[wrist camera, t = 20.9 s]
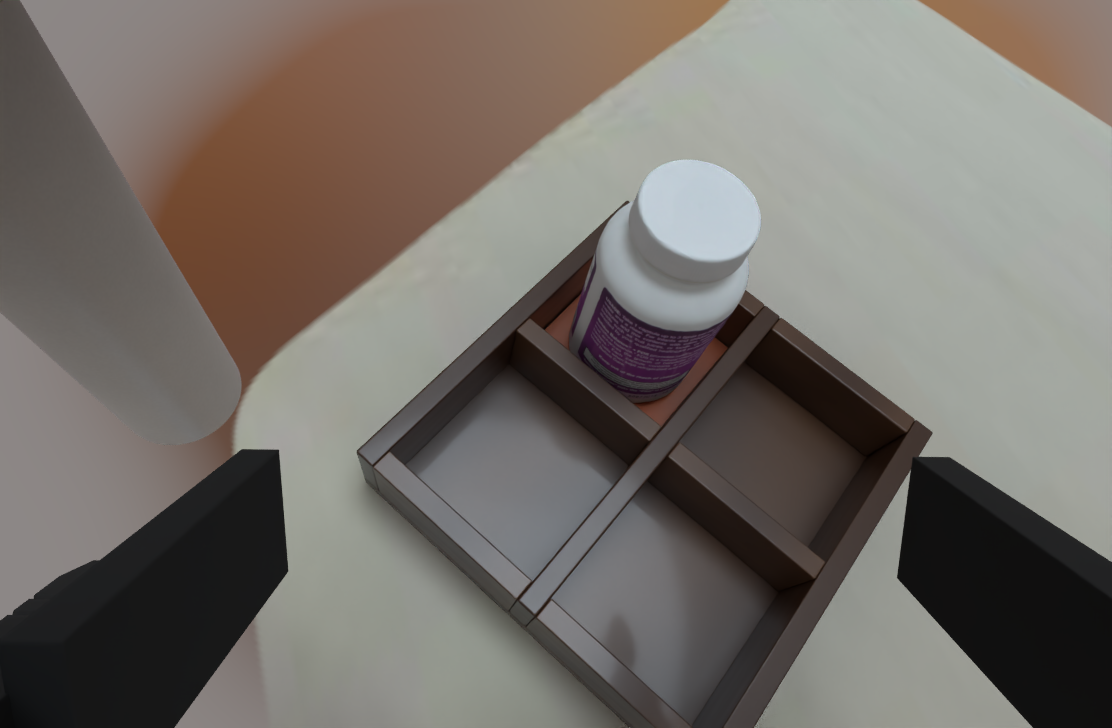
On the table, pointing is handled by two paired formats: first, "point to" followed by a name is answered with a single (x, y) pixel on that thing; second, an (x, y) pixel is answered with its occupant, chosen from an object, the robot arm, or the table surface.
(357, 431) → the table surface
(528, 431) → the grid
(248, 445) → the table surface
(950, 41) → the table surface
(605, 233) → the pill bottle
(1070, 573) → the robot arm
